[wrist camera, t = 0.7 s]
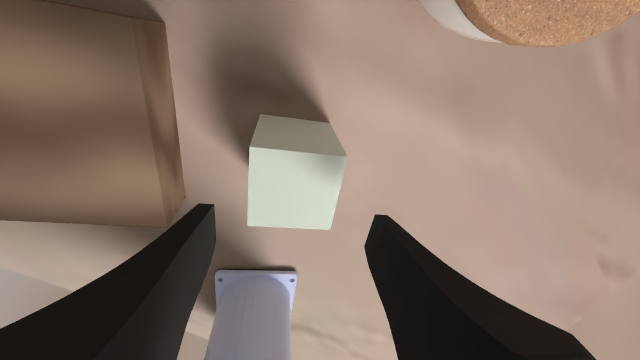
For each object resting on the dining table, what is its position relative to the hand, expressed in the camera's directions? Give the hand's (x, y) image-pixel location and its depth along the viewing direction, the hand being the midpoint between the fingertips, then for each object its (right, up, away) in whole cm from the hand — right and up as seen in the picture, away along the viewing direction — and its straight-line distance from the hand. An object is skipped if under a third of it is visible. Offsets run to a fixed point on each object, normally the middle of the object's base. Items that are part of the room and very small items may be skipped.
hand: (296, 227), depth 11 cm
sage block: (-1, +4, +8) cm, 9 cm away
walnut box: (-15, +7, +5) cm, 17 cm away
